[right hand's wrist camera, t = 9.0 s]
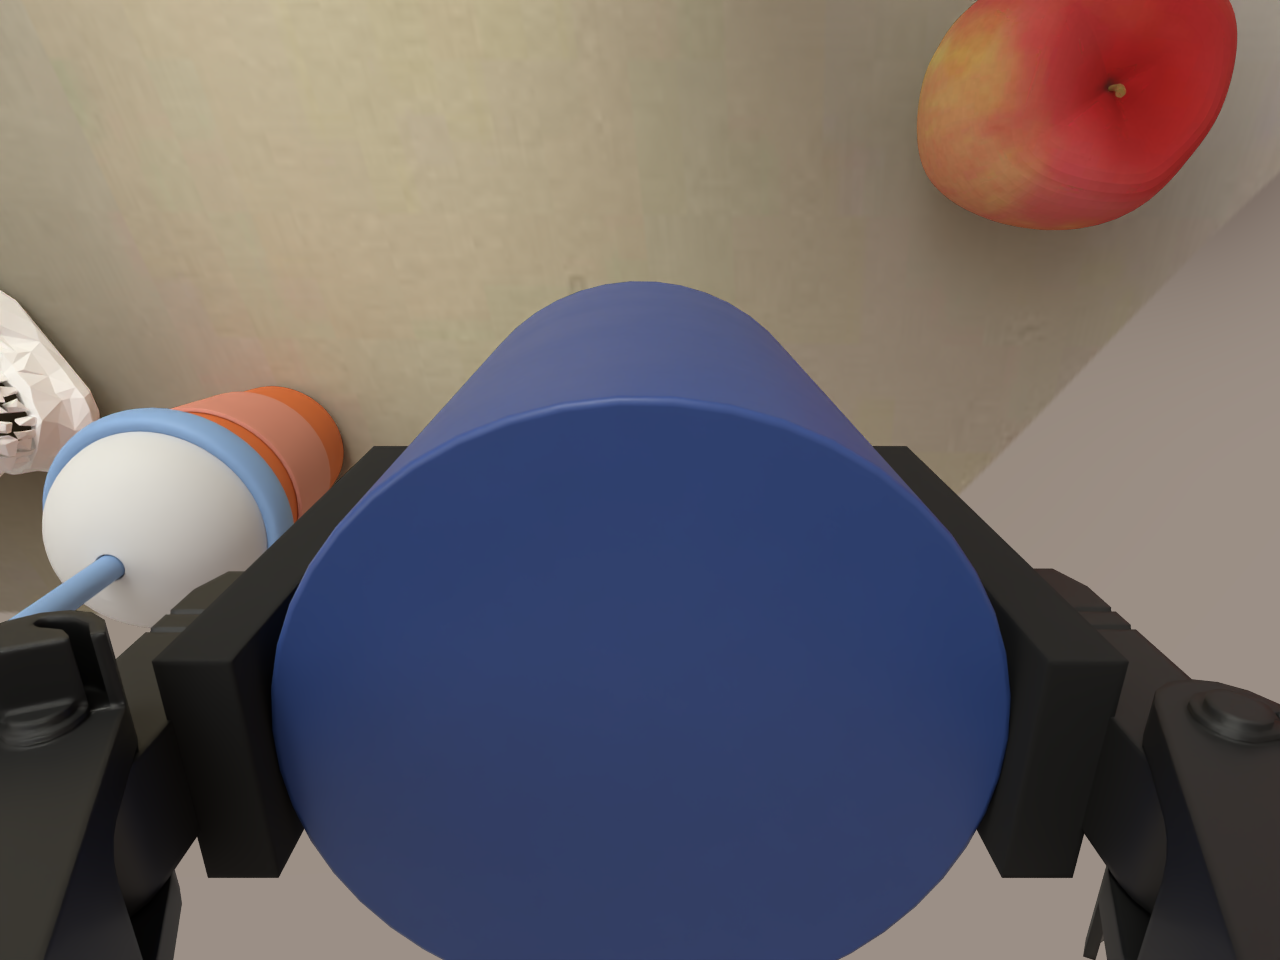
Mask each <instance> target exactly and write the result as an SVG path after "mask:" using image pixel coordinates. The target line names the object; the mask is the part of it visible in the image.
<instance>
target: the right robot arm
mask: <svg viewBox="0 0 1280 960" xmlns="http://www.w3.org/2000/svg"><path fill="white" fill-rule="evenodd" d="M407 447H408V446H374V447H373V448H372V449H371V450H370V451H369V452H367V453H366V454H365V455H364V456H363V457H362V458H361V459H360V460H359V461H358V462H357V463H356V464H355V465H354V466H353V467H352V468H351V469H350V470H349V471H348V472H347V473H346V474H345V475H344V476H343V477H342V478H341V479H340V480H339V481H338V482H336V483H335V484H334V485H333V486H332V487H331V488H330V489H329V490H328V491H327V492H326V493H325V494H324V495H323V496H322V497H321V498H320V499H319V500H318V501H317V502H316V503H315V504H314V505H313V506H312V507H311V508H310V509H309V510H308V511H306V512H305V513H304V514H303V515H302V516H301V517H300V518H299V519H298V520H297V521H296V522H295V523H294V524H293V525H292V526H291V527H290V528H289V529H288V530H287V531H286V532H285V533H284V534H283V535H282V536H281V537H280V538H279V539H278V540H277V541H275V542H274V543H273V544H272V545H271V546H270V547H269V548H268V549H267V550H266V551H265V552H264V553H263V554H262V555H261V556H260V557H259V558H258V559H257V560H256V561H255V562H254V563H253V564H252V565H251V566H250V567H249V568H248V569H247V570H245V571H228V572H226V573H224V574H222V575H220V576H219V577H217V578H215V579H213V580H211V581H209V582H207V583H205V584H203V585H201V586H199V587H197V588H195V589H194V590H192V591H191V592H190V593H189V594H188V595H187V596H186V597H185V598H183V599H182V600H181V601H180V602H179V603H178V604H177V605H176V606H175V607H173V608H172V609H171V610H170V614H166V615H165V616H163V617H162V618H161V619H160V620H159V621H158V622H157V623H156V624H155V625H153V626H152V627H151V631H150V632H146V633H144V634H143V635H142V636H141V637H140V638H139V639H138V640H137V641H136V642H134V643H133V644H132V645H131V646H130V647H129V648H128V649H127V650H126V651H124V652H123V653H122V654H121V655H120V656H119V657H118V658H117V659H115V655H114V652H113V648H112V644H111V641H110V637H109V634H108V630H107V627H106V623H105V620H104V619H102V618H100V617H99V616H97V615H95V614H94V613H92V612H83V611H74V610H65V611H54V612H43V613H38V614H33V615H29V616H25V617H20V618H16V619H12V620H8V621H5V622H2V623H0V960H173V958H174V951H175V944H176V938H177V932H178V925H179V919H180V912H181V906H182V901H181V894H180V887H179V884H178V880H177V877H176V873H175V868H176V867H177V865H178V864H179V862H180V861H181V859H182V858H183V856H184V855H185V853H186V852H187V850H188V849H189V848H190V846H191V845H192V843H193V842H194V840H195V839H196V837H198V841H199V845H200V849H201V853H202V856H203V860H204V864H205V868H206V872H207V876H208V878H278V877H279V876H280V874H281V872H282V870H283V868H284V866H285V864H286V863H287V861H288V859H289V857H290V855H291V853H292V851H293V849H294V847H295V845H296V843H297V842H298V840H299V838H300V836H301V834H302V832H303V830H304V827H303V825H302V823H301V821H300V819H299V817H298V815H297V813H296V812H295V810H294V808H293V806H292V803H291V800H290V797H289V794H288V791H287V789H286V786H285V783H284V780H283V777H282V774H281V772H280V768H279V763H278V758H277V753H276V747H275V742H274V737H273V731H272V702H271V685H272V677H273V670H274V663H275V655H276V648H277V643H278V640H279V637H280V633H281V630H282V627H283V623H284V620H285V617H286V614H287V610H288V607H289V604H290V602H291V600H292V598H293V596H294V594H295V592H296V590H297V588H298V586H299V584H300V582H301V580H302V578H303V576H304V574H305V572H306V570H307V568H308V566H309V564H310V563H311V561H312V560H313V558H314V557H315V555H316V554H317V553H318V551H319V550H320V548H321V547H322V546H323V544H324V543H325V541H326V540H327V539H328V537H329V536H330V534H331V533H332V532H333V530H334V529H335V527H336V526H337V525H338V524H339V523H340V522H341V521H342V519H343V518H344V517H345V516H346V515H347V514H348V513H349V512H350V511H351V509H352V508H353V507H354V506H355V505H356V504H357V503H358V502H359V501H360V499H361V498H362V497H363V496H364V495H365V494H366V493H367V492H368V491H369V489H370V488H371V487H372V486H373V485H374V484H375V483H376V482H377V481H378V479H379V478H380V477H381V476H382V475H383V474H384V473H385V472H386V471H387V469H388V468H389V467H390V466H391V465H392V464H393V463H394V462H395V461H396V459H397V458H398V457H399V456H400V455H401V454H402V453H403V452H404V451H405V450H406V448H407ZM873 448H874V449H875V450H876V451H877V452H878V453H879V454H880V455H881V456H882V458H883V459H884V460H885V461H886V462H887V463H888V464H889V465H890V466H891V468H892V469H893V470H894V471H895V472H896V473H897V474H898V475H899V476H900V477H901V479H902V480H903V481H904V482H905V483H906V484H907V485H908V486H909V487H910V489H911V490H912V491H913V492H914V493H915V494H916V495H917V496H918V497H919V499H920V500H921V501H922V502H923V503H924V504H925V505H926V506H927V507H928V508H929V510H930V511H931V512H932V513H933V514H934V515H935V516H936V517H937V518H938V520H939V521H940V522H941V523H942V524H943V525H944V526H945V527H946V528H947V530H948V531H949V532H950V533H951V534H952V535H953V537H954V538H955V540H956V541H957V543H958V544H959V546H960V547H961V549H962V550H963V552H964V554H965V555H966V557H967V558H968V560H969V561H970V563H971V564H972V566H973V567H974V569H975V570H976V572H977V573H978V576H979V578H980V580H981V582H982V584H983V587H984V589H985V591H986V593H987V595H988V598H989V600H990V602H991V604H992V606H993V609H994V611H995V613H996V617H997V621H998V624H999V628H1000V632H1001V635H1002V639H1003V643H1004V647H1005V650H1006V655H1007V665H1008V675H1009V685H1010V695H1011V700H1010V717H1009V733H1008V741H1007V746H1006V750H1005V755H1004V759H1003V764H1002V768H1001V773H1000V777H999V780H998V782H997V785H996V787H995V790H994V793H993V795H992V798H991V800H990V803H989V806H988V808H987V811H986V813H985V815H984V817H983V819H982V820H981V822H980V824H979V826H978V828H977V831H978V833H979V835H980V837H981V839H982V840H983V842H984V844H985V846H986V848H987V850H988V852H989V854H990V856H991V858H992V860H993V861H994V863H995V865H996V867H997V869H998V871H999V873H1000V875H1001V877H1002V878H1073V874H1074V870H1075V866H1076V863H1077V858H1078V855H1079V851H1080V847H1081V844H1082V840H1083V836H1084V834H1085V835H1086V837H1087V838H1088V840H1089V841H1090V842H1091V844H1092V845H1093V847H1094V848H1095V850H1096V851H1097V853H1098V854H1099V856H1100V857H1101V858H1102V860H1103V861H1104V863H1105V864H1106V869H1105V873H1104V876H1103V880H1102V884H1101V887H1100V891H1099V894H1098V898H1097V901H1096V905H1095V908H1094V912H1093V916H1092V919H1091V923H1090V926H1089V930H1088V934H1087V937H1086V942H1085V948H1084V955H1083V956H1084V957H1087V958H1090V959H1093V960H1095V959H1096V956H1097V953H1098V949H1099V946H1100V943H1101V942H1102V941H1104V942H1105V949H1106V955H1107V960H1280V704H1278V703H1276V702H1273V701H1271V700H1269V699H1266V698H1264V697H1262V696H1260V695H1257V694H1255V693H1253V692H1250V691H1248V690H1244V689H1241V688H1237V687H1233V686H1230V685H1226V684H1222V683H1219V682H1212V681H1202V680H1193V679H1191V678H1190V677H1189V676H1187V675H1186V674H1185V673H1184V672H1183V671H1182V670H1181V669H1180V668H1178V667H1177V666H1176V665H1175V664H1174V663H1173V662H1172V661H1171V660H1169V659H1168V658H1167V657H1166V656H1165V655H1164V654H1163V653H1162V652H1160V651H1159V650H1158V649H1157V648H1156V647H1155V646H1154V645H1153V644H1151V643H1150V642H1149V641H1148V640H1147V639H1146V638H1145V637H1144V636H1142V635H1141V634H1140V633H1139V632H1138V631H1137V630H1131V625H1130V624H1129V623H1128V622H1127V621H1126V620H1124V619H1123V618H1122V617H1121V616H1120V615H1119V614H1118V613H1117V612H1111V607H1110V606H1109V605H1108V604H1106V603H1105V602H1104V601H1103V600H1102V599H1101V598H1100V597H1099V596H1097V595H1096V594H1095V593H1094V592H1093V591H1092V590H1091V589H1090V588H1089V587H1087V586H1085V585H1083V584H1082V583H1080V582H1078V581H1076V580H1074V579H1072V578H1070V577H1068V576H1066V575H1064V574H1062V573H1060V572H1058V571H1056V570H1054V569H1033V568H1032V567H1031V566H1030V565H1029V564H1028V563H1027V562H1026V561H1025V560H1024V559H1023V558H1022V557H1021V556H1020V555H1018V553H1016V552H1015V551H1014V550H1013V549H1012V548H1011V547H1010V546H1009V545H1008V544H1007V543H1006V542H1005V541H1004V540H1003V539H1002V538H1001V537H1000V536H999V535H998V534H997V533H996V532H995V531H994V530H993V529H992V528H991V527H990V526H989V525H988V524H986V523H985V522H984V521H983V520H982V519H981V518H980V517H979V516H978V515H977V514H976V513H975V512H974V511H973V510H972V509H971V508H970V507H969V506H968V505H967V504H966V503H965V502H964V501H963V500H962V499H961V498H960V497H959V496H958V495H957V494H955V493H954V492H953V491H952V490H951V489H950V488H949V487H948V486H947V485H946V484H945V483H944V482H943V481H942V480H941V479H940V478H939V477H938V476H937V475H936V474H935V473H934V472H933V471H932V470H931V469H930V468H929V467H928V466H927V465H925V464H924V463H923V462H922V461H921V460H920V459H919V458H918V457H917V456H916V455H915V454H914V453H913V452H912V451H911V450H910V449H909V448H908V447H907V446H873Z"/></svg>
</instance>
